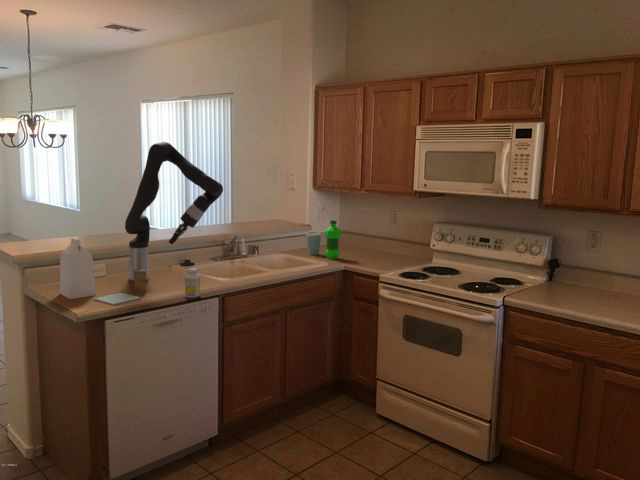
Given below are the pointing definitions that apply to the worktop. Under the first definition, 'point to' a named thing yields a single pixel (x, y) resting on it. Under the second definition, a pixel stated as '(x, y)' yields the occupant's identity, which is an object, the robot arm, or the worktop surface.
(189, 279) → the supplement bottle
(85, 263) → the milk
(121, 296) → the sage board
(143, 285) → the walnut block
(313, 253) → the disposable coffee cup
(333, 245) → the plastic bottle
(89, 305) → the worktop surface
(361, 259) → the worktop surface
